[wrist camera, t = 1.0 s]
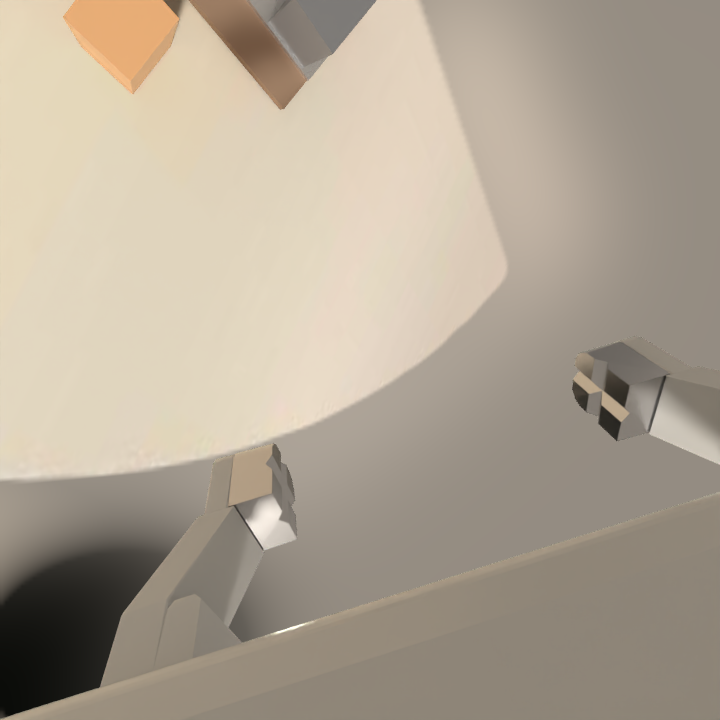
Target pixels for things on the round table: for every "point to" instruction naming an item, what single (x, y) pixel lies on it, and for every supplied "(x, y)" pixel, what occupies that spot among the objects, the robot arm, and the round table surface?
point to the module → (124, 35)
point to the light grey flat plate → (265, 6)
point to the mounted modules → (317, 25)
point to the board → (253, 47)
